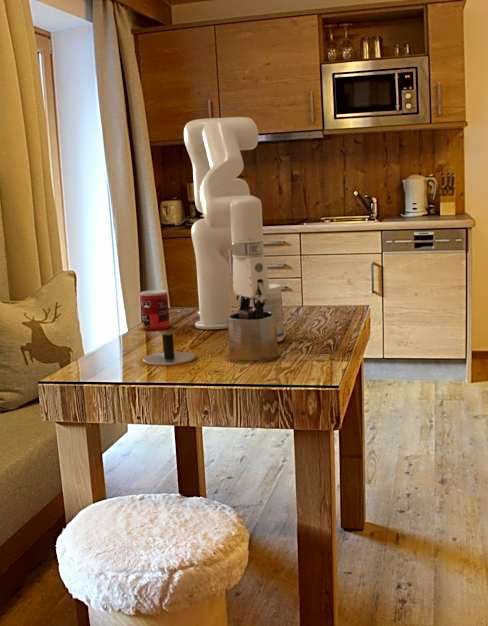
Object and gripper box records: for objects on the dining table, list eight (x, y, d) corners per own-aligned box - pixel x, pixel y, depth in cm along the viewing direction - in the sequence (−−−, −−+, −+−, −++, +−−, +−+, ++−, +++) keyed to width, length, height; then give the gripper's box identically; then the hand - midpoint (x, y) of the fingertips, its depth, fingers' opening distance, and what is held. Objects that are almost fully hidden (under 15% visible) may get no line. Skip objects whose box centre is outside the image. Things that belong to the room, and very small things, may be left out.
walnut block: (239, 327, 201) (238, 309, 200) (255, 325, 203) (254, 307, 202) (248, 330, 197) (247, 312, 196) (264, 327, 199) (263, 309, 198)
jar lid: (135, 361, 205) (133, 333, 204) (181, 353, 211) (179, 326, 210) (156, 371, 194) (153, 342, 193) (204, 362, 200) (202, 334, 198)
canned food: (142, 326, 250) (139, 290, 248) (169, 324, 250) (166, 288, 248) (143, 331, 242) (140, 294, 240) (170, 329, 243) (167, 292, 241)
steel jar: (221, 357, 204) (218, 315, 202) (261, 350, 209) (259, 309, 207) (244, 366, 194) (242, 322, 192) (286, 358, 199) (284, 315, 197)
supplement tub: (291, 340, 217) (289, 285, 215) (263, 346, 212) (260, 290, 210) (268, 335, 226) (265, 282, 223) (240, 341, 220) (237, 287, 218)
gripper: (280, 250, 191) (283, 327, 194) (243, 246, 206) (247, 318, 209) (252, 253, 188) (256, 332, 191) (217, 249, 203) (221, 322, 206)
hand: (251, 324), depth 200 cm, fingers open, 4 cm apart
